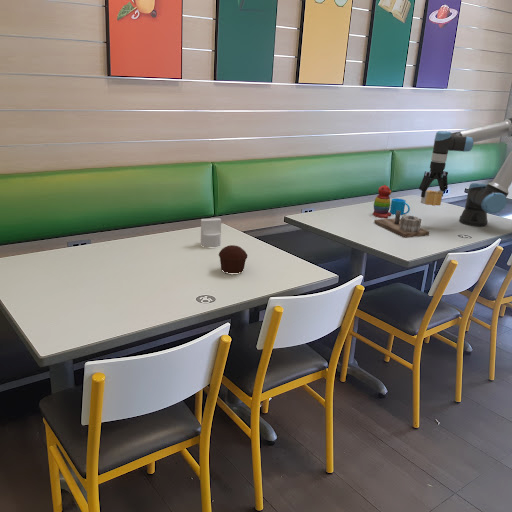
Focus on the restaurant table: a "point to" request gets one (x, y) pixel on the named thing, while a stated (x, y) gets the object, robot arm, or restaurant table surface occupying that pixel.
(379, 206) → the stacking bear
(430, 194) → the ochre gear
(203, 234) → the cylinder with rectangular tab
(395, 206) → the mug
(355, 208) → the restaurant table surface
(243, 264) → the muffin
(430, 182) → the robot arm
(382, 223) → the gear board
